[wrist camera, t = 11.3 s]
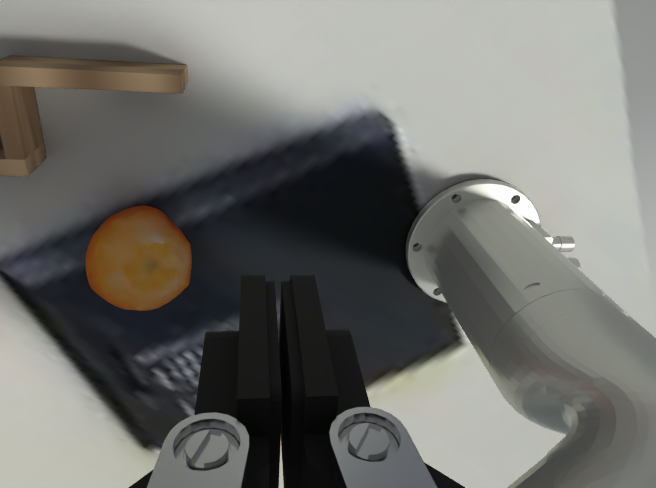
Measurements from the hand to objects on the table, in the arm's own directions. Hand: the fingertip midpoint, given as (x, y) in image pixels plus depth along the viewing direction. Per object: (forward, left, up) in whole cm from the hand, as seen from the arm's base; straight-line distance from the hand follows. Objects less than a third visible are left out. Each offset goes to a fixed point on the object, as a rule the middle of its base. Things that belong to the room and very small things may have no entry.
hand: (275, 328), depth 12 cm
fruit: (+9, +14, -32) cm, 36 cm away
